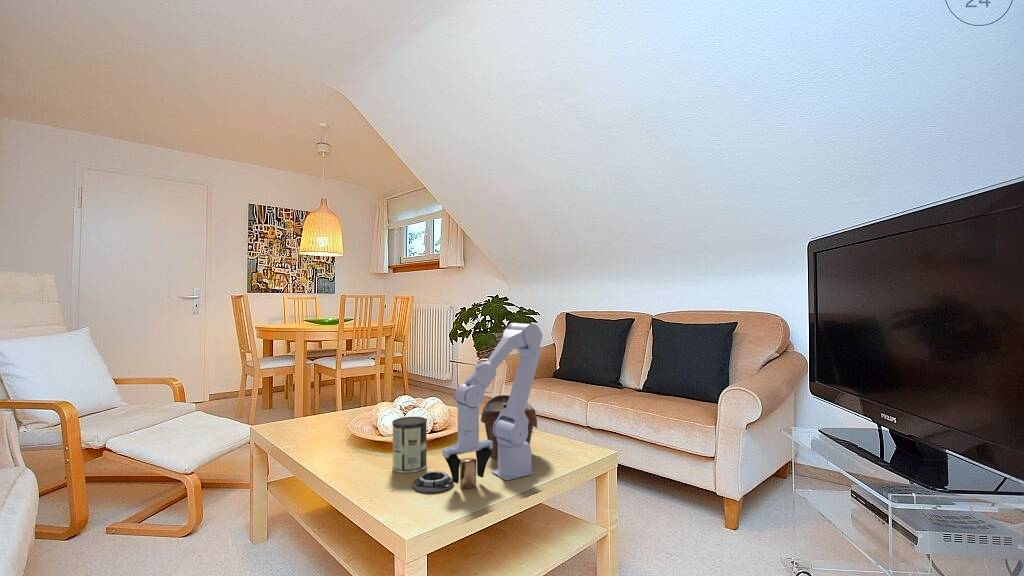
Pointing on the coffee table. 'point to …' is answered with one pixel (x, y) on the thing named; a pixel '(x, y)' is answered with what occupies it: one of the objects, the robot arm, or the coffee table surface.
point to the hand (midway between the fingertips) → (468, 479)
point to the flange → (433, 482)
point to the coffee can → (409, 444)
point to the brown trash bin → (492, 414)
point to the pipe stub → (468, 473)
